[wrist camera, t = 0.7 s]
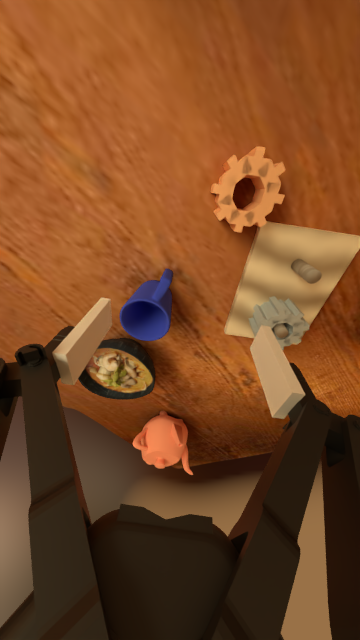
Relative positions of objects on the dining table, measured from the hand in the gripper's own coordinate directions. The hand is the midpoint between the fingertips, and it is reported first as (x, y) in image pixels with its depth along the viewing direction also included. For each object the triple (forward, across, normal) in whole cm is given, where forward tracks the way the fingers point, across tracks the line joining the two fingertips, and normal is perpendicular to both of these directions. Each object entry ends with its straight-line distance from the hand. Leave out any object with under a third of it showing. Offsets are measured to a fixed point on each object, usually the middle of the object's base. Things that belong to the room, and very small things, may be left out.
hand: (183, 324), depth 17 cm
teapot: (+21, +3, -57) cm, 61 cm away
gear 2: (+19, +18, -8) cm, 28 cm away
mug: (+21, -5, -7) cm, 23 cm away
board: (+21, +18, -3) cm, 28 cm away
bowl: (+21, -12, -26) cm, 36 cm away
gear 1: (+21, +6, +10) cm, 24 cm away
